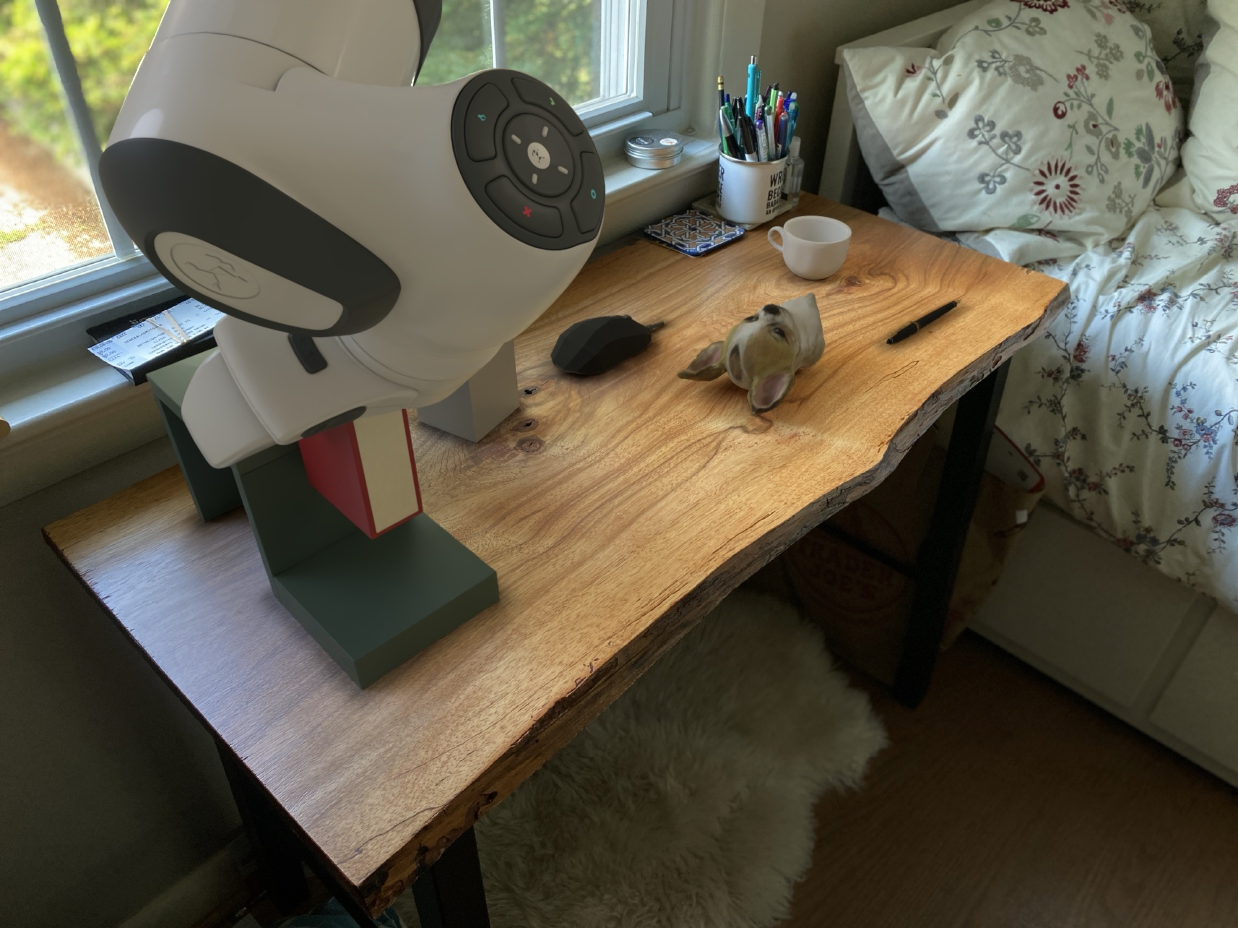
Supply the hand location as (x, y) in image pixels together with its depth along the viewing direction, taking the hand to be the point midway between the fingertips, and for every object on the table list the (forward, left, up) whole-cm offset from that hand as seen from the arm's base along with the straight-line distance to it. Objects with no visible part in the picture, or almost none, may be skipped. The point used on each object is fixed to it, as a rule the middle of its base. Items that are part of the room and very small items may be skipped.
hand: (339, 398), depth 59 cm
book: (0, -1, -8) cm, 8 cm away
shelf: (0, +7, -18) cm, 19 cm away
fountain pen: (+65, -7, -18) cm, 68 cm away
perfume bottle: (+19, +15, -18) cm, 30 cm away
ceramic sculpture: (+43, -1, -18) cm, 47 cm away
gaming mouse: (+37, +14, -18) cm, 44 cm away
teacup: (+66, +11, -18) cm, 70 cm away
